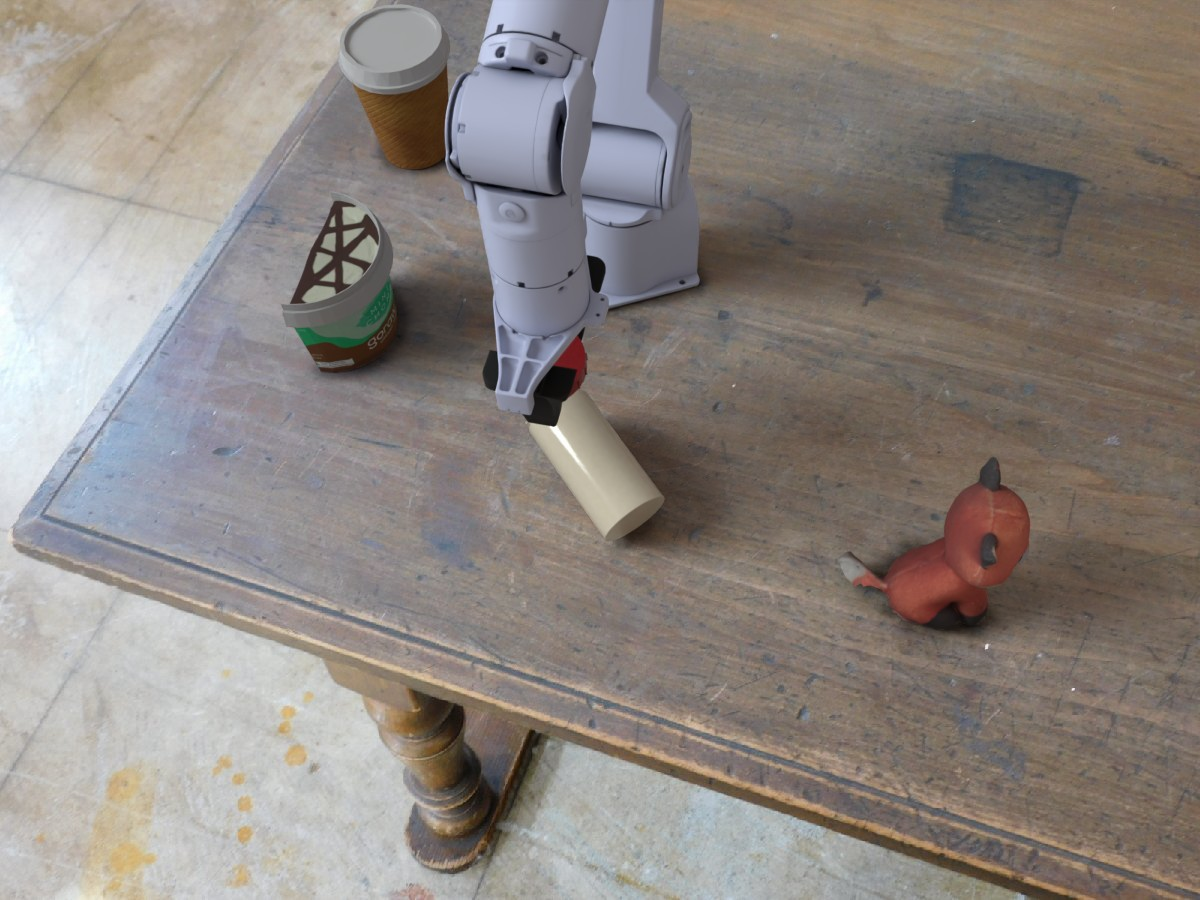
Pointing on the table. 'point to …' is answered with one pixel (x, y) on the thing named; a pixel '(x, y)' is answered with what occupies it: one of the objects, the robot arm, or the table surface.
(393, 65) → the disposable coffee cup
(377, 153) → the table surface
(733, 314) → the table surface
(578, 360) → the lid
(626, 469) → the jar
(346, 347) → the food container
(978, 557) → the stuffed fox
